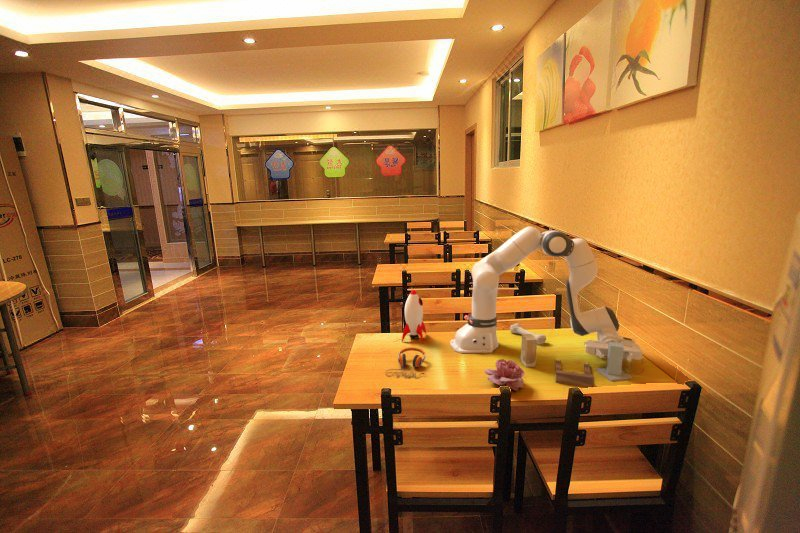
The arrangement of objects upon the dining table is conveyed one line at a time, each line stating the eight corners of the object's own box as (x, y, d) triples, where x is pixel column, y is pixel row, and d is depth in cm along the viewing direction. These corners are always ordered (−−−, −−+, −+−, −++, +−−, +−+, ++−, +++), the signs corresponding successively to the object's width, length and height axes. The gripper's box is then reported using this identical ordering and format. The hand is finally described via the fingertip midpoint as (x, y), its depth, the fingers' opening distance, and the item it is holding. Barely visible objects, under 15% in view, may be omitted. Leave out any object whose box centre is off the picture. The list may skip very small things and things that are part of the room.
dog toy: (548, 344, 190) (548, 334, 189) (538, 347, 187) (539, 336, 186) (517, 330, 207) (517, 321, 206) (508, 333, 205) (508, 323, 204)
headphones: (383, 371, 161) (394, 341, 179) (384, 382, 163) (395, 351, 181) (424, 375, 157) (432, 344, 175) (425, 386, 160) (432, 354, 177)
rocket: (423, 343, 194) (422, 293, 189) (401, 342, 196) (400, 292, 191) (426, 334, 205) (426, 286, 199) (405, 333, 207) (404, 286, 201)
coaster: (610, 381, 154) (610, 379, 154) (595, 370, 163) (595, 368, 163) (631, 378, 156) (632, 377, 156) (615, 368, 164) (616, 366, 164)
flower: (489, 390, 145) (497, 363, 144) (479, 375, 159) (486, 351, 159) (528, 399, 146) (536, 373, 145) (515, 384, 160) (522, 360, 160)
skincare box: (520, 360, 173) (521, 334, 171) (529, 360, 174) (531, 333, 171) (525, 367, 167) (527, 339, 164) (536, 366, 167) (537, 339, 165)
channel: (555, 362, 171) (555, 353, 170) (589, 366, 167) (589, 357, 166) (555, 382, 155) (556, 372, 154) (593, 387, 150) (593, 377, 149)
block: (606, 369, 162) (609, 341, 159) (619, 370, 161) (621, 342, 158) (607, 374, 158) (610, 345, 155) (620, 376, 156) (623, 347, 154)
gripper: (584, 334, 172) (586, 347, 160) (638, 339, 165) (645, 353, 153) (583, 348, 174) (585, 361, 161) (637, 354, 167) (644, 369, 154)
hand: (615, 358), depth 157 cm, fingers open, 8 cm apart
